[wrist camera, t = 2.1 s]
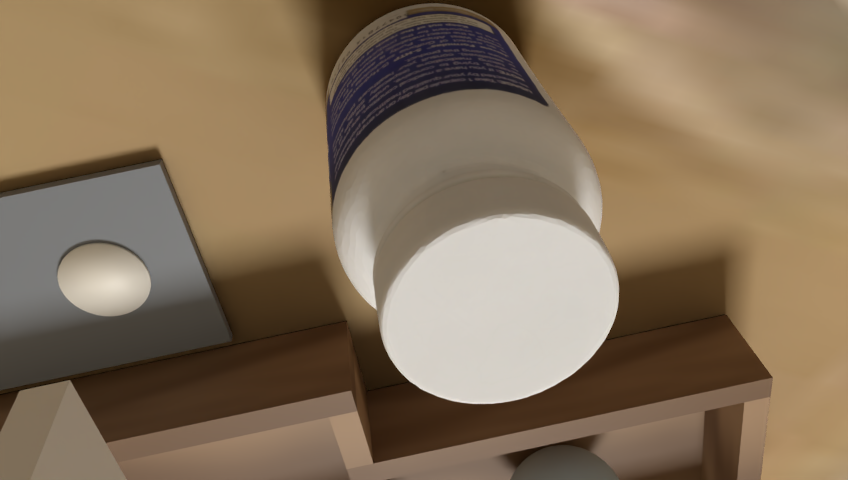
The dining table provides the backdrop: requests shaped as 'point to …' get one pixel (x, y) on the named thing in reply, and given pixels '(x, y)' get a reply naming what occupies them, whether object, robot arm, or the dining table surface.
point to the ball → (563, 465)
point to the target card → (100, 276)
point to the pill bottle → (465, 208)
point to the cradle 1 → (236, 411)
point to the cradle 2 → (595, 415)
